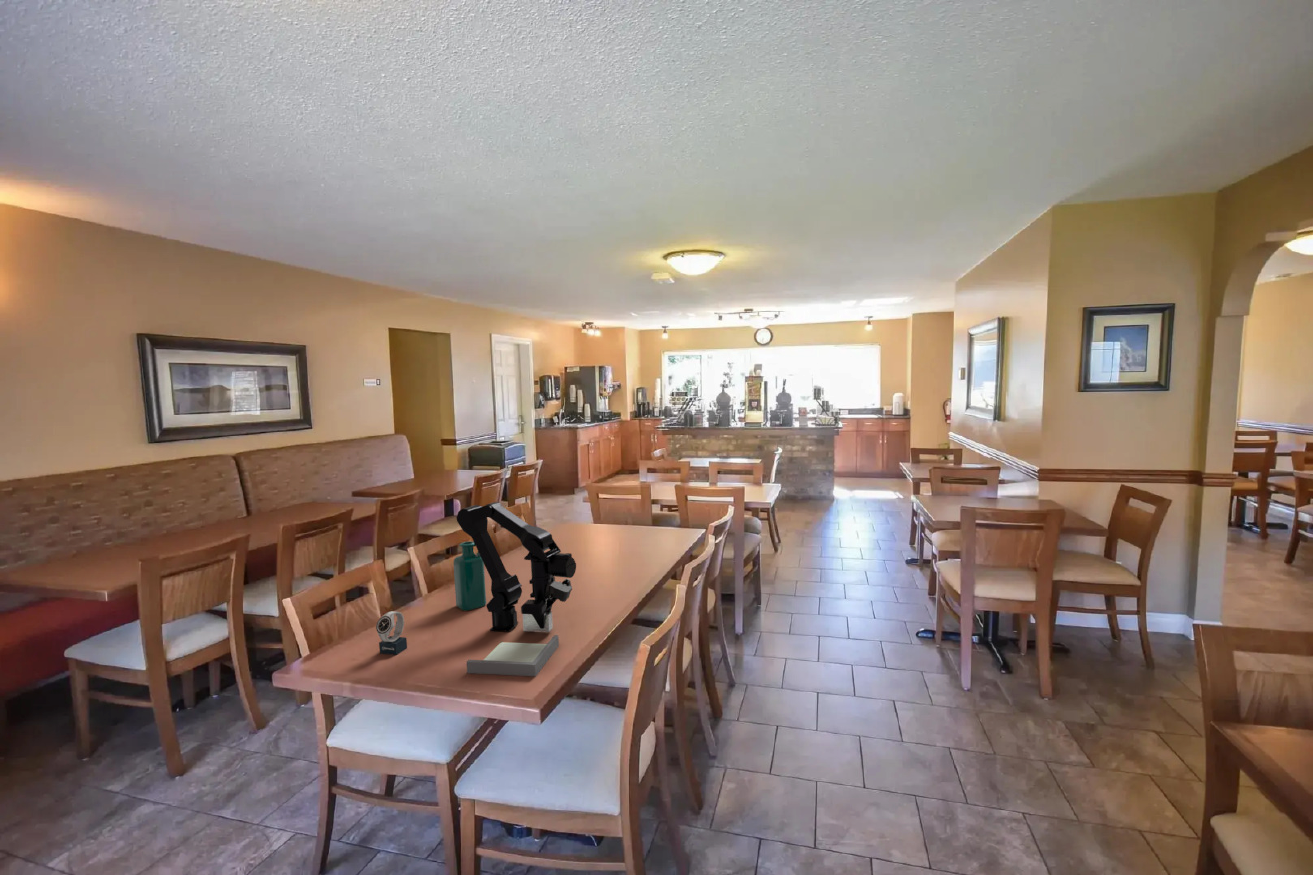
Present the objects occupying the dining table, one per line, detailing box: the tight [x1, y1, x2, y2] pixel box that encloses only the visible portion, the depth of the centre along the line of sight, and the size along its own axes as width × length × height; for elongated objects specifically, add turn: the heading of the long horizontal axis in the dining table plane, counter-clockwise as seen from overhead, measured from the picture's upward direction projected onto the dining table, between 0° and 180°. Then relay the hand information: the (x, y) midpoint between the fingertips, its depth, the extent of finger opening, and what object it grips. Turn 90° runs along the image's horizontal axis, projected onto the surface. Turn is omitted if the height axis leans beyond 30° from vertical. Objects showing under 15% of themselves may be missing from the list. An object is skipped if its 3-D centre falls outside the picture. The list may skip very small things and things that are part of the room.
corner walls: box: [465, 634, 560, 677], centre depth 151 cm, size 18×17×3 cm
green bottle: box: [453, 540, 487, 612], centre depth 192 cm, size 10×8×22 cm
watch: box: [375, 610, 408, 656], centre depth 159 cm, size 6×8×11 cm
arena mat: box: [483, 641, 548, 662], centre depth 152 cm, size 16×16×1 cm
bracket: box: [522, 610, 554, 633], centre depth 170 cm, size 8×8×5 cm
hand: (544, 626), depth 167 cm, fingers closed on bracket, 3 cm apart
